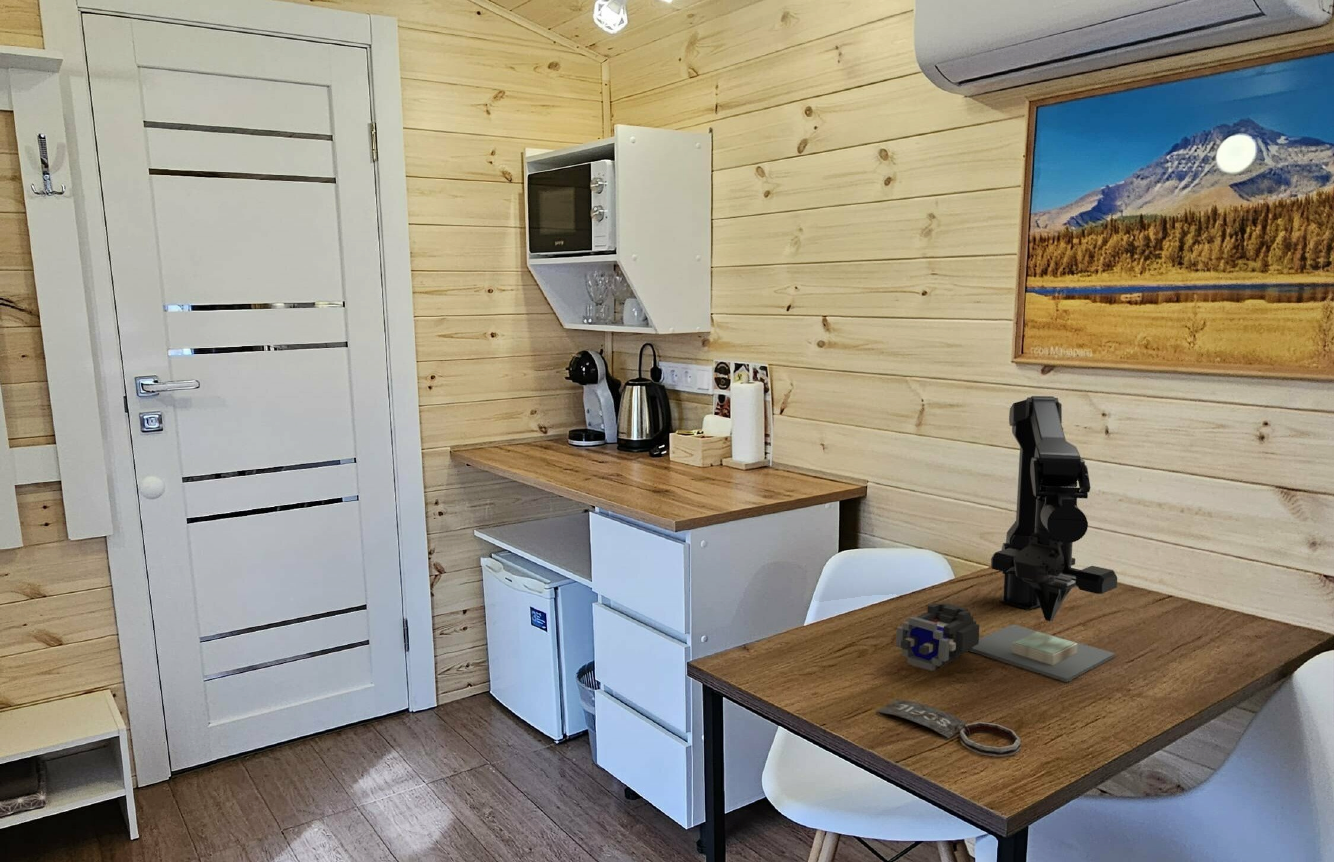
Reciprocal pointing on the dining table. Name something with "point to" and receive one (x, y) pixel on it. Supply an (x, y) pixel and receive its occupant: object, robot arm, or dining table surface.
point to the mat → (1065, 670)
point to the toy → (937, 636)
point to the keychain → (952, 726)
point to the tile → (1044, 648)
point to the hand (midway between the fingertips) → (1049, 620)
